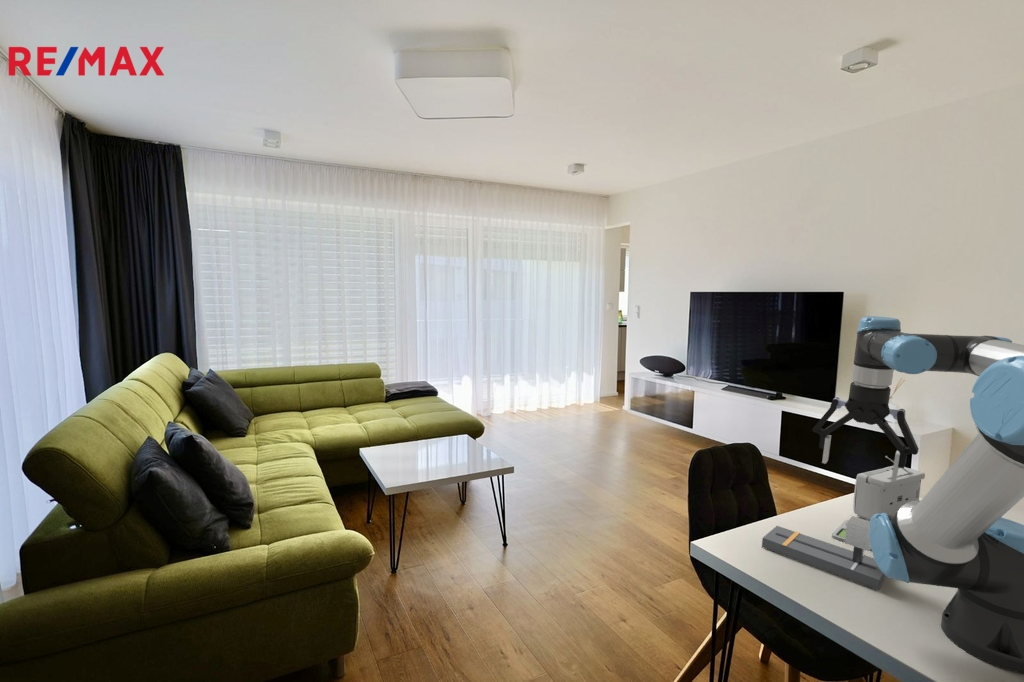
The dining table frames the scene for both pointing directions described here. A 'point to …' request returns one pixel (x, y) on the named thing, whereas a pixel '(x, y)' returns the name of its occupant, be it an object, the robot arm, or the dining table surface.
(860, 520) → the cap
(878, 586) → the fader board
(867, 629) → the dining table surface
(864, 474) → the stereo radio cassette player
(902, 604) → the dining table surface
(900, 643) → the dining table surface
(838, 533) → the handheld gaming console
